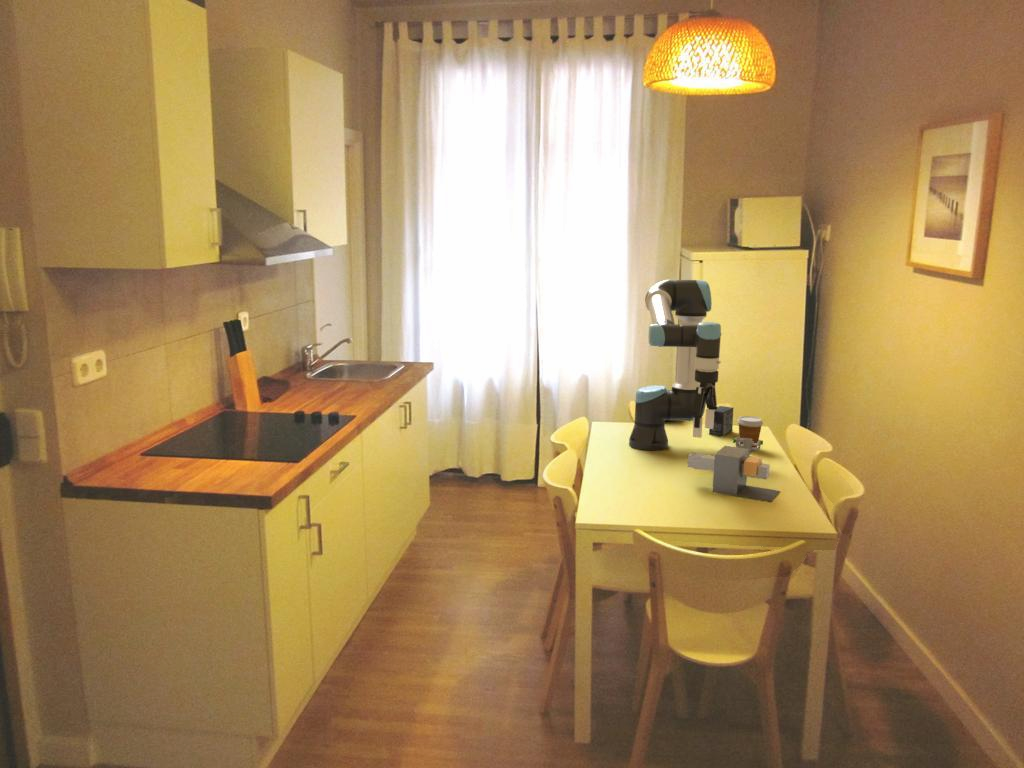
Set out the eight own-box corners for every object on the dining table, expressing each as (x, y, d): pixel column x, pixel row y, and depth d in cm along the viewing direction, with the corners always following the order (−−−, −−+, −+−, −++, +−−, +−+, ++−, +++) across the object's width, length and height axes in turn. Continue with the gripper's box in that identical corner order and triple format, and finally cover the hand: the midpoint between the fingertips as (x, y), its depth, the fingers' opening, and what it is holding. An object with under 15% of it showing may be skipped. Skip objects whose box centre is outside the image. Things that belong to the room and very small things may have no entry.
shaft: (687, 466, 285) (688, 455, 284) (691, 464, 288) (691, 452, 287) (766, 479, 272) (767, 467, 271) (769, 476, 276) (769, 464, 275)
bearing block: (712, 492, 278) (714, 454, 275) (722, 482, 288) (724, 445, 285) (736, 496, 274) (739, 457, 271) (746, 486, 284) (748, 449, 281)
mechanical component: (761, 467, 305) (763, 440, 303) (731, 465, 307) (733, 439, 305) (760, 465, 308) (762, 438, 306) (731, 463, 310) (733, 437, 308)
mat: (733, 496, 274) (733, 494, 274) (743, 485, 285) (743, 484, 284) (771, 502, 269) (771, 501, 268) (779, 492, 279) (779, 490, 279)
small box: (718, 429, 359) (719, 405, 357) (732, 431, 355) (734, 407, 353) (708, 434, 350) (709, 409, 348) (723, 437, 346) (724, 412, 344)
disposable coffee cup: (734, 450, 327) (736, 420, 324) (737, 444, 336) (739, 414, 333) (759, 453, 323) (761, 422, 321) (762, 447, 332) (764, 417, 330)
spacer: (743, 474, 274) (744, 461, 273) (748, 468, 280) (749, 455, 279) (755, 476, 272) (756, 463, 271) (760, 470, 278) (761, 457, 277)
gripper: (707, 376, 265) (703, 442, 269) (728, 365, 287) (724, 426, 291) (683, 374, 269) (680, 439, 273) (706, 363, 290) (703, 423, 294)
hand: (703, 432), depth 282 cm, fingers open, 13 cm apart
